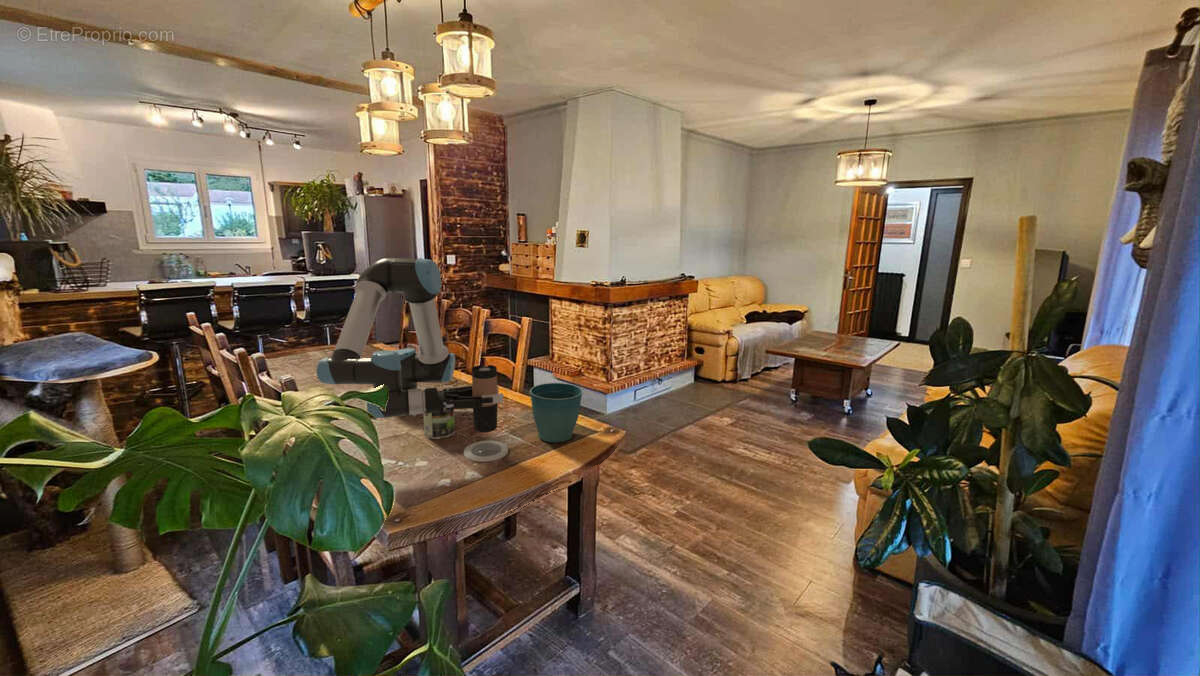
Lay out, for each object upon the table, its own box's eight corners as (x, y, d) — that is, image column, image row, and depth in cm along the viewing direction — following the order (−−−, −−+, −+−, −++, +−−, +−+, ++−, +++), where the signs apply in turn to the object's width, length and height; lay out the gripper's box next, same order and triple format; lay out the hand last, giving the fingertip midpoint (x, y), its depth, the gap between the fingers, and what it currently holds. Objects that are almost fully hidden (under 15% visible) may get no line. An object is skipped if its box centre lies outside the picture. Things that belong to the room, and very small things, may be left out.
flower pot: (553, 422, 180) (553, 379, 176) (591, 434, 170) (592, 389, 166) (519, 437, 165) (518, 391, 162) (558, 452, 155) (559, 403, 152)
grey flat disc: (461, 446, 157) (461, 443, 157) (503, 440, 163) (503, 438, 162) (466, 464, 145) (466, 462, 144) (512, 458, 150) (512, 455, 150)
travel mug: (485, 434, 146) (484, 372, 142) (468, 429, 150) (466, 368, 146) (502, 427, 153) (502, 367, 149) (485, 421, 157) (484, 363, 153)
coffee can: (460, 429, 171) (459, 391, 168) (445, 440, 161) (444, 401, 158) (434, 426, 173) (432, 389, 170) (418, 437, 163) (416, 398, 160)
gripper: (423, 401, 153) (495, 395, 161) (426, 425, 134) (507, 416, 143) (422, 379, 151) (494, 374, 160) (425, 399, 133) (506, 392, 141)
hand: (500, 393), depth 151 cm, fingers closed on travel mug, 7 cm apart
